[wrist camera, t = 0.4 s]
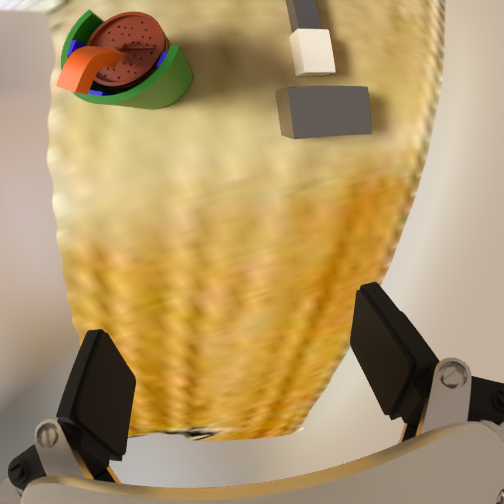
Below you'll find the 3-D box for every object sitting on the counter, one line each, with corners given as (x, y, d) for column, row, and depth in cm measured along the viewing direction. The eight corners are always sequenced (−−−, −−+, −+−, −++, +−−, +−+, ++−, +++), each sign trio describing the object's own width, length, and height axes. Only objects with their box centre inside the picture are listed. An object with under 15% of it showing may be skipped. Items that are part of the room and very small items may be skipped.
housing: (275, 91, 31) (287, 87, 26) (345, 89, 32) (367, 86, 26) (281, 135, 34) (294, 139, 29) (349, 129, 35) (371, 134, 29)
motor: (202, 55, 28) (189, -8, 10) (178, 117, 32) (136, 119, 14) (131, 40, 25) (59, -12, 8) (108, 101, 29) (16, 100, 11)
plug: (270, -48, 20) (276, -61, 17) (297, -47, 20) (305, -59, 17) (295, 76, 31) (304, 72, 27) (324, 75, 31) (335, 72, 27)
